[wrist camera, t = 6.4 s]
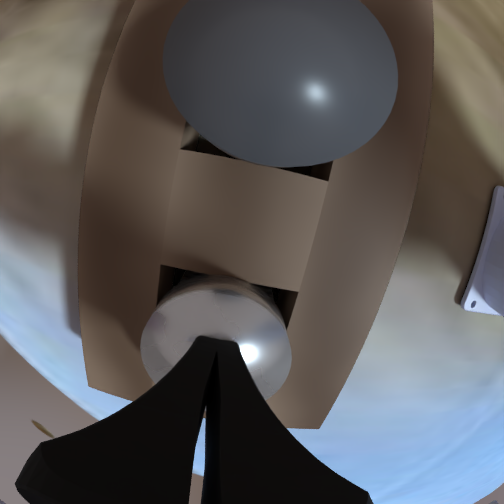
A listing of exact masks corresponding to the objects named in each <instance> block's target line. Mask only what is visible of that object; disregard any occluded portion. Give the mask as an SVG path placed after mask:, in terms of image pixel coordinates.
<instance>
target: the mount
mask: <svg viewBox="0 0 504 504" xmlns="http://www.w3.org/2000/svg"><path fill="white" fill-rule="evenodd" d="M188 1H189V0H135V2H134V4H133V6H132V8H131V11H130V13H129V15H128V17H127V20H126V22H125V25H124V27H123V29H122V32H121V34H120V37H119V40H118V42H117V45H116V48H115V50H114V53H113V56H112V59H111V62H110V65H109V68H108V71H107V74H106V77H105V81H104V84H103V88H102V91H101V95H100V99H99V102H98V106H97V110H96V114H95V119H94V123H93V128H92V132H91V137H90V143H89V148H88V154H87V160H86V166H85V173H84V180H83V188H82V197H81V208H80V220H79V238H78V297H79V314H80V327H81V337H82V346H83V354H84V362H85V368H86V375H87V380H88V386H89V387H91V388H94V389H97V390H100V391H103V392H105V393H108V394H111V395H114V396H117V397H121V398H124V399H127V400H130V401H135V400H136V399H137V398H139V397H140V396H141V395H143V394H144V393H145V392H147V391H148V390H149V389H150V388H152V387H153V386H154V385H155V383H154V382H153V380H152V379H151V378H150V376H149V374H148V373H147V371H146V369H145V367H144V364H143V361H142V357H141V349H140V344H141V337H142V333H143V330H144V328H145V326H146V324H147V322H148V320H149V319H150V317H151V315H152V314H153V312H154V310H155V308H156V307H157V305H158V303H159V302H160V300H161V299H162V298H163V296H164V295H165V294H166V293H167V292H168V291H169V290H170V289H172V288H173V281H174V273H175V267H176V268H180V269H185V270H190V271H194V272H199V273H204V274H209V275H226V276H232V277H236V278H239V279H242V280H245V281H247V282H249V283H254V284H259V285H264V286H270V287H275V288H280V289H281V290H280V293H279V297H278V300H277V304H276V305H277V307H278V308H279V310H280V312H281V314H282V317H283V319H284V323H285V327H286V331H287V335H288V339H289V343H290V348H291V355H292V361H291V368H290V371H289V374H288V376H287V378H286V380H285V382H284V383H283V385H282V386H281V388H280V389H279V390H278V391H277V392H276V393H275V394H274V395H272V396H271V397H270V398H269V399H267V400H266V402H267V404H268V405H269V407H270V408H271V409H272V411H273V412H274V414H275V415H276V416H277V418H278V419H279V420H280V421H281V423H282V424H283V425H284V426H285V428H299V429H319V428H320V427H321V425H322V423H323V422H324V420H325V418H326V417H327V415H328V413H329V411H330V410H331V408H332V406H333V404H334V402H335V401H336V399H337V397H338V395H339V393H340V391H341V390H342V388H343V386H344V384H345V382H346V380H347V378H348V376H349V374H350V372H351V370H352V368H353V366H354V364H355V362H356V360H357V358H358V356H359V354H360V351H361V349H362V347H363V345H364V343H365V340H366V338H367V336H368V334H369V331H370V329H371V327H372V324H373V322H374V320H375V317H376V315H377V312H378V310H379V307H380V305H381V302H382V300H383V297H384V294H385V292H386V289H387V286H388V283H389V281H390V278H391V275H392V272H393V269H394V266H395V263H396V260H397V257H398V254H399V251H400V248H401V244H402V241H403V238H404V234H405V231H406V227H407V224H408V220H409V217H410V213H411V209H412V205H413V201H414V197H415V193H416V188H417V184H418V179H419V174H420V169H421V164H422V159H423V154H424V148H425V142H426V135H427V129H428V121H429V113H430V104H431V94H432V81H433V61H434V22H433V4H432V0H359V1H360V2H361V3H362V4H364V5H365V6H366V7H367V8H368V9H369V10H370V12H371V13H372V14H373V15H374V16H375V17H376V19H377V20H378V21H379V23H380V24H381V26H382V27H383V29H384V30H385V32H386V34H387V36H388V38H389V40H390V42H391V45H392V47H393V50H394V53H395V57H396V62H397V69H398V89H397V94H396V98H395V102H394V105H393V107H392V110H391V113H390V114H389V116H388V118H387V120H386V122H385V123H384V125H383V126H382V127H381V128H380V130H379V131H378V132H377V133H376V134H375V135H374V136H373V137H372V138H371V139H370V140H369V141H368V142H367V143H366V144H364V145H363V146H361V147H360V148H358V149H357V150H355V151H354V152H352V153H350V154H348V155H346V156H343V157H341V158H339V159H336V160H333V161H330V162H327V163H321V164H316V165H312V168H311V172H310V176H306V175H302V174H298V173H294V172H290V171H286V170H282V169H278V168H274V167H267V166H261V165H255V164H252V163H248V162H245V161H242V160H237V159H232V158H227V157H222V156H216V155H211V154H205V153H200V152H196V147H197V143H198V138H199V133H198V132H197V131H196V130H195V129H194V128H193V127H192V126H191V125H190V124H189V123H188V122H187V121H186V120H185V118H184V117H183V116H182V114H181V113H180V112H179V111H178V109H177V107H176V106H175V104H174V102H173V100H172V99H171V96H170V94H169V91H168V89H167V86H166V82H165V78H164V73H163V50H164V44H165V40H166V37H167V33H168V31H169V29H170V26H171V24H172V22H173V20H174V19H175V17H176V16H177V14H178V13H179V11H180V10H181V9H182V8H183V7H184V5H185V4H186V3H187V2H188ZM203 418H206V411H205V412H204V416H203Z"/></svg>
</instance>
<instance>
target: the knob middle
mask: <svg viewBox="0 0 504 504" xmlns="http://www.w3.org/2000/svg"><path fill="white" fill-rule="evenodd" d="M163 73H164V78H165V82H166V86H167V89H168V91H169V94H170V96H171V99H172V100H173V102H174V104H175V106H176V107H177V109H178V111H179V112H180V113H181V114H182V116H183V117H184V118H185V120H186V121H187V122H188V123H189V124H190V125H191V126H192V127H193V128H194V129H195V130H196V131H197V132H198V133H199V134H200V135H202V136H203V137H204V138H205V139H207V140H208V141H209V142H210V143H212V144H213V145H214V146H216V147H217V148H218V149H220V150H222V151H223V152H225V153H227V154H229V155H230V156H232V157H235V158H237V159H240V160H242V161H245V162H248V163H252V164H255V165H261V166H267V167H282V168H285V167H298V166H311V165H316V164H321V163H327V162H330V161H333V160H336V159H339V158H341V157H343V156H346V155H348V154H350V153H352V152H354V151H355V150H357V149H358V148H360V147H361V146H363V145H364V144H366V143H367V142H368V141H369V140H370V139H371V138H372V137H373V136H374V135H375V134H376V133H377V132H378V131H379V130H380V128H381V127H382V126H383V125H384V123H385V122H386V120H387V118H388V116H389V114H390V113H391V110H392V107H393V105H394V102H395V98H396V94H397V89H398V69H397V62H396V57H395V53H394V50H393V47H392V45H391V42H390V40H389V38H388V36H387V34H386V32H385V30H384V29H383V27H382V26H381V24H380V23H379V21H378V20H377V19H376V17H375V16H374V15H373V14H372V13H371V12H370V10H369V9H368V8H367V7H366V6H365V5H364V4H362V3H361V2H360V1H359V0H189V1H188V2H187V3H186V4H185V5H184V7H183V8H182V9H181V10H180V11H179V13H178V14H177V16H176V17H175V19H174V20H173V22H172V24H171V26H170V29H169V31H168V33H167V37H166V40H165V44H164V50H163Z"/></svg>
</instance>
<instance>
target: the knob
mask: <svg viewBox="0 0 504 504" xmlns="http://www.w3.org/2000/svg"><path fill="white" fill-rule="evenodd" d="M199 335H201V336H206V337H211V338H216V339H221V340H227V341H232V342H237V344H238V345H239V347H240V350H241V353H242V356H243V358H244V361H245V363H246V366H247V368H248V370H249V372H250V374H251V376H252V378H253V380H254V382H255V384H256V386H257V387H258V389H259V391H260V393H261V394H262V396H263V397H264V399H265V401H266V400H267V399H269V398H270V397H271V396H272V395H274V394H275V393H276V392H277V391H278V390H279V389H280V388H281V386H282V385H283V383H284V382H285V380H286V378H287V376H288V374H289V371H290V368H291V361H292V355H291V348H290V343H289V339H288V335H287V331H286V327H285V323H284V319H283V317H282V314H281V312H280V310H279V308H278V307H277V305H276V304H275V303H274V298H273V293H272V289H271V287H270V286H264V285H259V284H254V283H249V282H247V281H245V280H242V279H239V278H236V277H232V276H226V275H209V274H204V273H199V272H194V271H190V270H186V271H185V273H184V275H183V276H182V278H181V280H180V282H179V284H177V285H176V286H174V287H173V288H172V289H170V290H169V291H168V292H167V293H166V294H165V295H164V296H163V298H162V299H161V300H160V302H159V303H158V305H157V307H156V308H155V310H154V312H153V314H152V315H151V317H150V319H149V320H148V322H147V324H146V326H145V328H144V330H143V333H142V337H141V344H140V349H141V357H142V361H143V364H144V367H145V369H146V371H147V373H148V374H149V376H150V378H151V379H152V380H153V382H154V383H155V384H156V383H157V382H158V381H160V380H161V379H162V378H163V377H164V376H165V375H166V374H167V373H168V372H169V371H170V370H171V369H172V368H173V367H174V366H175V365H176V364H177V362H178V361H179V360H180V359H181V358H182V357H183V356H184V354H185V353H186V352H187V351H188V349H189V348H190V347H191V345H192V344H193V342H194V340H195V338H196V337H198V336H199ZM205 411H206V408H205Z"/></svg>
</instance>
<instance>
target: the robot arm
mask: <svg viewBox="0 0 504 504" xmlns="http://www.w3.org/2000/svg"><path fill="white" fill-rule="evenodd" d="M461 307H462V308H463V309H464V310H466V311H472V312H479V313H486V314H493V315H500V316H503V317H504V187H502V186H496V187H495V189H494V192H493V198H492V202H491V207H490V212H489V216H488V220H487V224H486V228H485V232H484V236H483V239H482V243H481V246H480V250H479V253H478V256H477V259H476V262H475V265H474V268H473V271H472V274H471V277H470V280H469V283H468V285H467V288H466V290H465V293H464V296H463V298H462V301H461ZM205 408H206V428H205V470H204V479H203V489H202V498H201V504H373V502H372V500H371V498H370V495H369V493H368V492H367V491H365V490H363V489H362V488H360V487H358V486H356V485H355V484H353V483H351V482H350V481H348V480H346V479H345V478H343V477H341V476H340V475H338V474H337V473H335V472H334V471H333V470H331V469H330V468H329V467H327V466H326V465H325V464H323V463H322V462H321V461H319V460H318V459H317V458H316V457H315V456H313V455H312V454H311V453H310V452H309V451H308V450H307V449H306V448H305V447H304V446H303V445H302V444H301V443H300V442H298V441H297V440H296V439H295V438H294V436H293V435H292V434H291V433H290V432H289V431H288V430H287V429H286V428H285V426H284V425H283V424H282V423H281V421H280V420H279V419H278V418H277V416H276V415H275V414H274V412H273V411H272V409H271V408H270V407H269V405H268V404H267V402H266V401H265V399H264V397H263V396H262V394H261V393H260V391H259V389H258V387H257V386H256V384H255V382H254V380H253V378H252V376H251V374H250V372H249V370H248V368H247V366H246V363H245V361H244V358H243V356H242V353H241V350H240V347H239V345H238V344H237V342H232V341H227V340H221V339H216V338H211V337H206V336H201V335H199V336H198V337H196V338H195V340H194V342H193V344H192V345H191V347H190V348H189V349H188V351H187V352H186V353H185V354H184V356H183V357H182V358H181V359H180V360H179V361H178V362H177V364H176V365H175V366H174V367H173V368H172V369H171V370H170V371H169V372H168V373H167V374H166V375H165V376H164V377H163V378H162V379H161V380H160V381H158V382H157V383H156V384H155V385H154V386H153V387H152V388H150V389H149V390H148V391H147V392H145V393H144V394H143V395H141V396H140V397H139V398H137V399H136V400H135V401H133V402H132V403H130V404H128V405H127V406H125V407H124V408H122V409H121V410H119V411H117V412H116V413H114V414H112V415H110V416H109V417H107V418H105V419H103V420H100V421H98V422H96V423H94V424H92V425H90V426H88V427H86V428H84V429H81V430H79V431H76V432H73V433H71V434H67V435H64V436H61V437H58V438H55V439H52V440H48V441H44V442H41V443H40V444H39V446H38V447H37V448H36V449H35V451H34V452H33V453H32V454H31V456H30V457H29V459H28V460H27V462H26V464H25V465H24V467H23V469H22V471H21V473H20V475H19V477H18V479H17V481H16V482H15V485H16V488H17V490H18V492H19V493H20V494H21V495H22V497H23V498H24V499H25V500H27V501H28V502H29V503H30V504H189V495H190V486H191V477H192V469H193V461H194V453H195V447H196V443H197V439H198V435H199V431H200V427H201V423H202V420H203V416H204V412H205ZM0 504H5V503H4V502H3V501H1V500H0ZM490 504H498V503H497V501H496V500H495V501H493V502H491V503H490Z"/></svg>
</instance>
